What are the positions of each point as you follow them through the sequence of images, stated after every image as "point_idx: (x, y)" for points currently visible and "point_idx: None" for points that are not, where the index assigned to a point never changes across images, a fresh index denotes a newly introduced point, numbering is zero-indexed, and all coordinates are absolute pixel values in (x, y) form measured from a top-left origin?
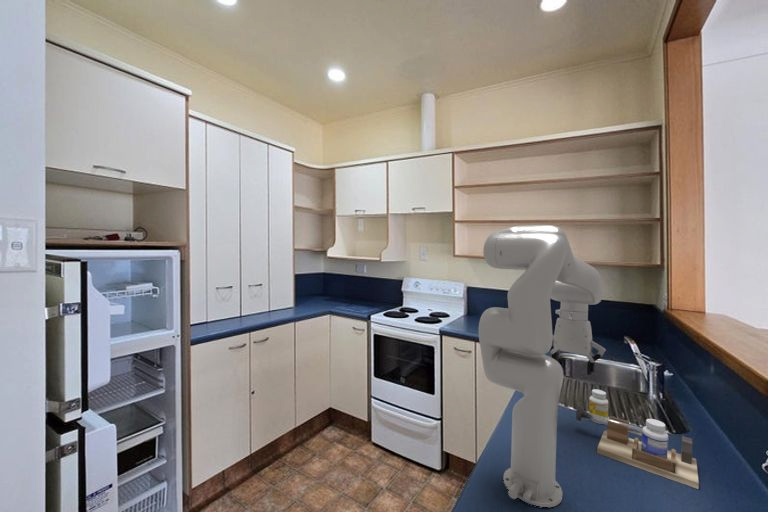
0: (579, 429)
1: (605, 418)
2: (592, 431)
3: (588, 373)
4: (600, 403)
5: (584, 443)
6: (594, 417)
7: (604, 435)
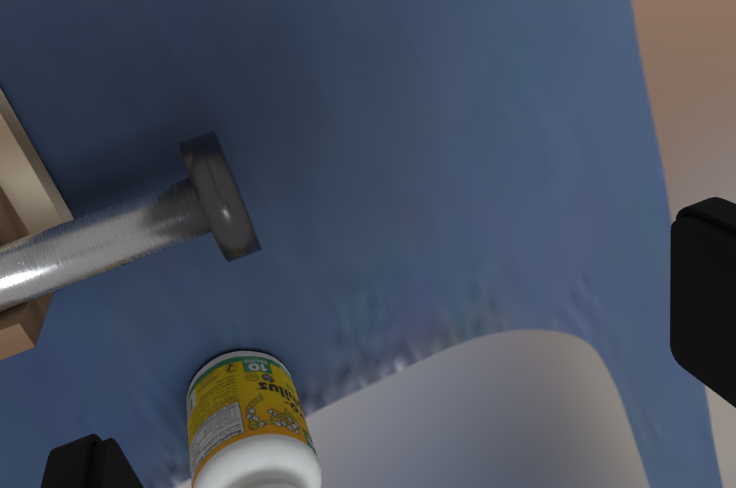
0: None
1: (14, 269)
2: None
3: (72, 454)
4: (216, 456)
5: (73, 10)
6: (95, 221)
7: (37, 204)
